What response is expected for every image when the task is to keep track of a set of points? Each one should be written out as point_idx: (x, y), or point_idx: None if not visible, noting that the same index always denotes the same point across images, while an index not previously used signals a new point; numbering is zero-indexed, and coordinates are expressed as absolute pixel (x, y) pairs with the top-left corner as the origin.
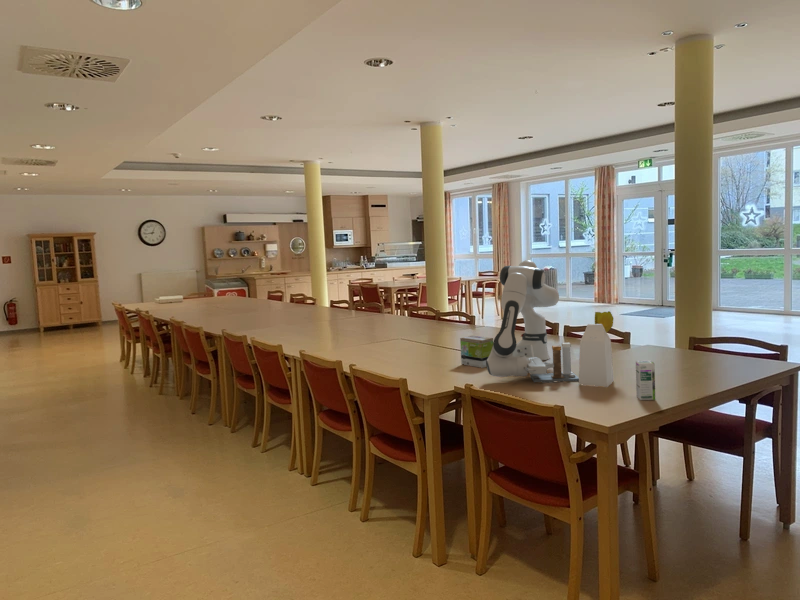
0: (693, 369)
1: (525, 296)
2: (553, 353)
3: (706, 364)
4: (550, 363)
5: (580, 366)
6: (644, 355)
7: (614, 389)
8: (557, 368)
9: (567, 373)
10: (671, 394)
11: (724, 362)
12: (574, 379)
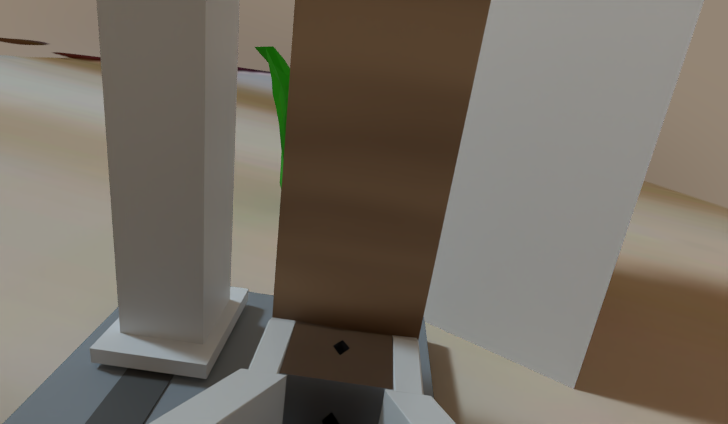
0: None
1: None
2: (394, 89)
3: (255, 93)
4: (365, 369)
5: (633, 209)
6: (17, 81)
7: (653, 280)
8: None
9: (229, 327)
10: (662, 206)
11: (253, 84)
12: (425, 355)
